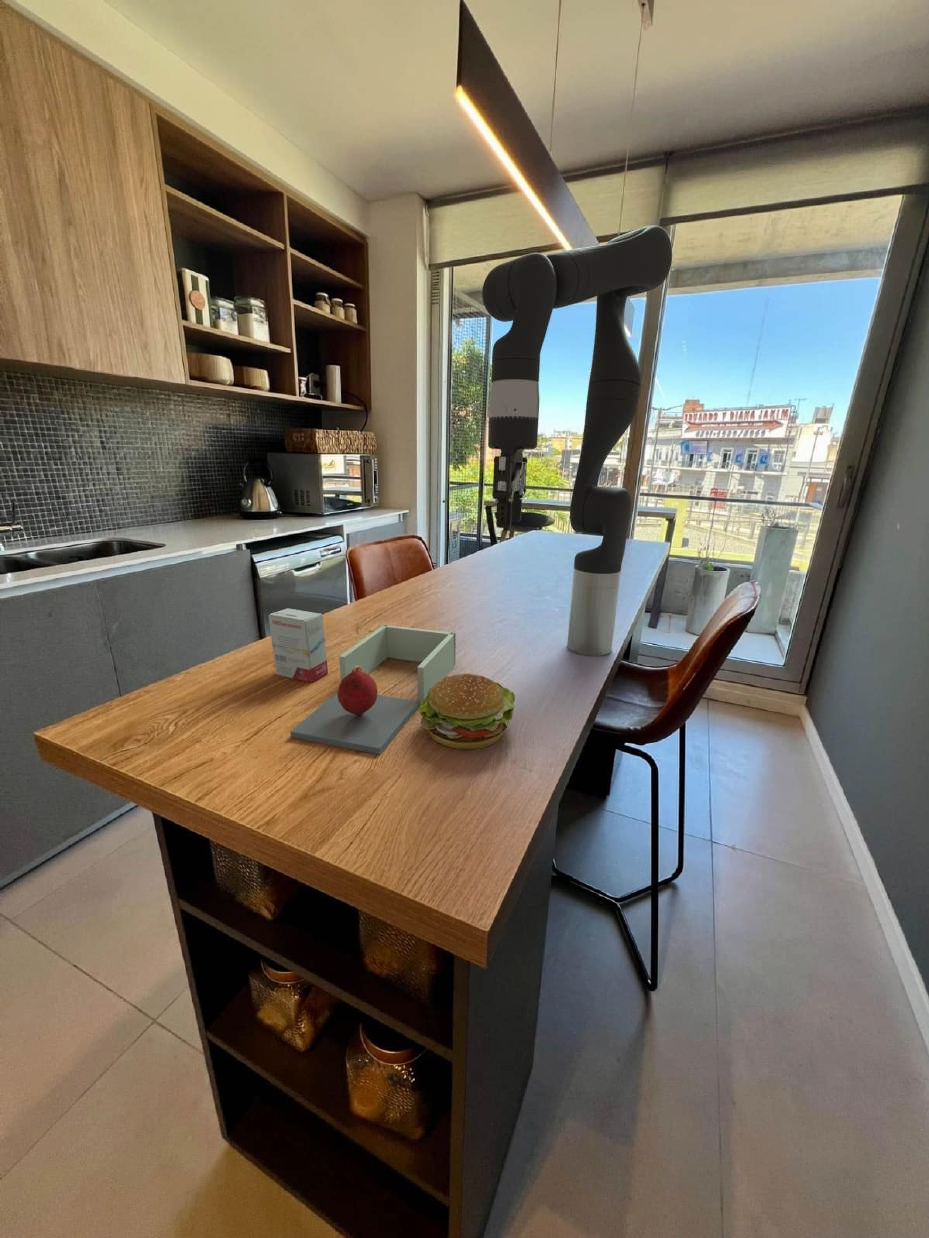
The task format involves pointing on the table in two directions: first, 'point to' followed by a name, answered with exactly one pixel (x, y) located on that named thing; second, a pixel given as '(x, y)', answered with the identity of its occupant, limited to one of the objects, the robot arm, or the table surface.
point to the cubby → (405, 653)
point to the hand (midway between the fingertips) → (509, 524)
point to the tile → (357, 724)
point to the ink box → (298, 644)
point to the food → (467, 711)
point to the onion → (357, 692)
